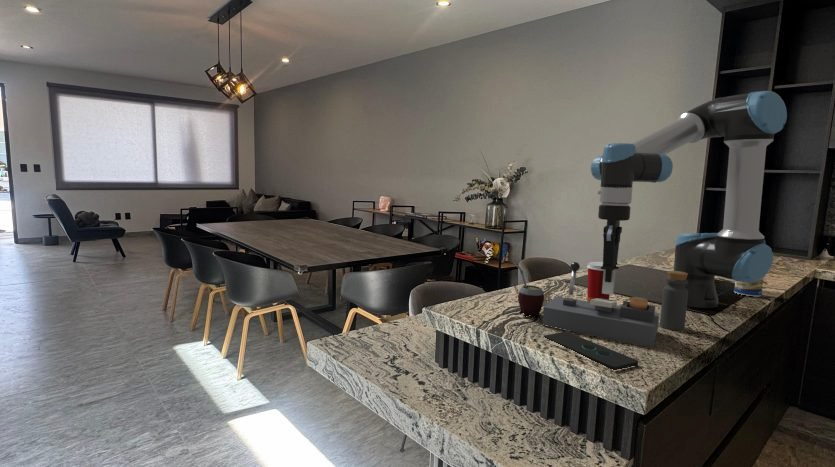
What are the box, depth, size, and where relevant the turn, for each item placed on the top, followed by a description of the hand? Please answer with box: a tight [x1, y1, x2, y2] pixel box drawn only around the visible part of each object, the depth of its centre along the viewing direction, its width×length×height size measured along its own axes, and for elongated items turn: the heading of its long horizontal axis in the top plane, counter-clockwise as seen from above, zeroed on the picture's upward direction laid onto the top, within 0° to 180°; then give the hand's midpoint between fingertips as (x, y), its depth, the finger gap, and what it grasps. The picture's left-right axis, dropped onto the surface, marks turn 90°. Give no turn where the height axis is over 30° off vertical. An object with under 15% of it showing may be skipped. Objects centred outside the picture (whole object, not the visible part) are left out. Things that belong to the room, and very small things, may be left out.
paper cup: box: [586, 261, 611, 302], centre depth 137 cm, size 8×8×14 cm
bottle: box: [659, 270, 688, 331], centre depth 123 cm, size 6×6×15 cm
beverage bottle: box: [733, 240, 767, 298], centre depth 165 cm, size 8×8×20 cm
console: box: [542, 296, 660, 349], centre depth 119 cm, size 14×26×8 cm, turn 59°
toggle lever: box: [568, 261, 581, 296], centre depth 124 cm, size 2×2×9 cm
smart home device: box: [543, 331, 639, 370], centre depth 103 cm, size 8×2×20 cm
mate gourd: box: [512, 262, 545, 318], centre depth 129 cm, size 8×8×15 cm
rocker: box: [590, 298, 618, 308], centre depth 119 cm, size 10×5×1 cm, turn 149°
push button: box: [629, 296, 649, 310], centre depth 114 cm, size 4×4×2 cm
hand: (607, 293), depth 122 cm, fingers closed
